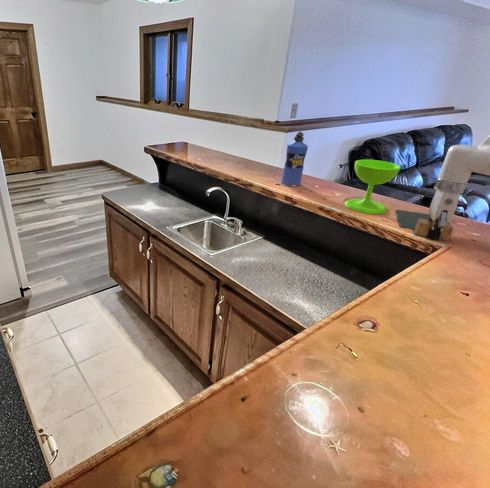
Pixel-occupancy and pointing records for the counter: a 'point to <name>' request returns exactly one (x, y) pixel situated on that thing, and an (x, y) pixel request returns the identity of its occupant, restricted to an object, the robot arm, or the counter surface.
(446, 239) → the eraser
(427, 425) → the counter surface
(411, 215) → the chalkboard
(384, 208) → the wineglass
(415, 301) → the counter surface
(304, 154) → the water bottle
